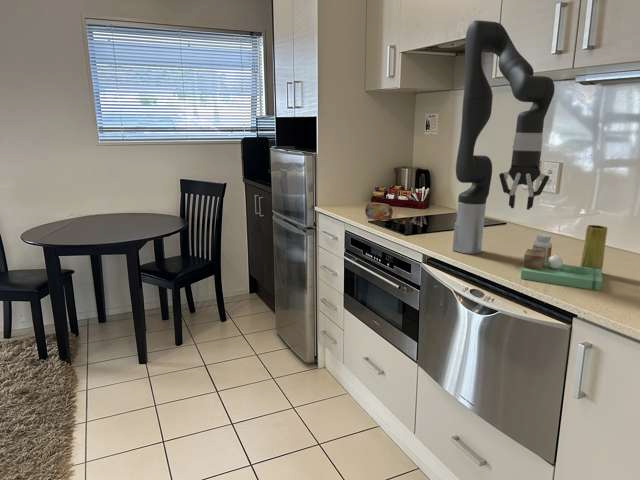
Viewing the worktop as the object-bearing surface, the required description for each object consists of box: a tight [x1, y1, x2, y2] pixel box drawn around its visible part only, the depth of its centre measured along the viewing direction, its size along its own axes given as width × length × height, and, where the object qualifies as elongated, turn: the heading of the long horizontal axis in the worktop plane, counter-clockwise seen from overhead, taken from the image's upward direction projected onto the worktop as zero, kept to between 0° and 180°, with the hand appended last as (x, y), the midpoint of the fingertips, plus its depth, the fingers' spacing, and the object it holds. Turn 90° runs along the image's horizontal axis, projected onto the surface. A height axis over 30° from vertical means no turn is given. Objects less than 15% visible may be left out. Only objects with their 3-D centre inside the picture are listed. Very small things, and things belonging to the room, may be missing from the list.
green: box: [520, 262, 603, 291], centre depth 137 cm, size 20×14×2 cm
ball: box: [547, 254, 564, 269], centre depth 137 cm, size 4×4×4 cm
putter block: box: [522, 248, 546, 270], centre depth 139 cm, size 5×8×4 cm, turn 151°
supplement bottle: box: [532, 233, 553, 262], centre depth 149 cm, size 5×5×10 cm
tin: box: [365, 202, 394, 222], centre depth 220 cm, size 15×3×8 cm, turn 42°
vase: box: [580, 224, 608, 273], centre depth 141 cm, size 6×6×14 cm
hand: (520, 208), depth 139 cm, fingers open, 3 cm apart
